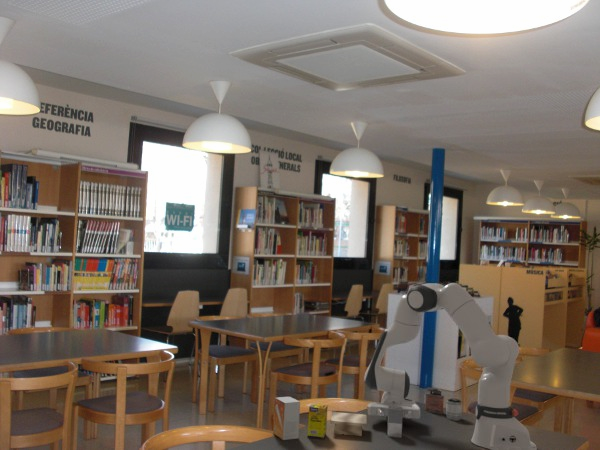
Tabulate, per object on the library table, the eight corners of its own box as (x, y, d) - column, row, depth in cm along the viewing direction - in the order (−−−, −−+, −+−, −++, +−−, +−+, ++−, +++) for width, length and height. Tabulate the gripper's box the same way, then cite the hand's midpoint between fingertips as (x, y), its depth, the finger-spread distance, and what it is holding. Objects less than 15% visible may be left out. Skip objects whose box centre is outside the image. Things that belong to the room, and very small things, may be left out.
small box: (272, 433, 232) (274, 397, 233) (288, 432, 235) (290, 396, 236) (282, 440, 225) (284, 402, 226) (298, 438, 228) (300, 401, 229)
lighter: (444, 412, 277) (445, 389, 278) (441, 414, 275) (442, 390, 275) (426, 409, 282) (427, 386, 282) (423, 410, 279) (424, 387, 279)
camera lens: (450, 415, 273) (451, 397, 273) (464, 419, 269) (464, 400, 269) (443, 418, 268) (444, 399, 268) (457, 421, 264) (457, 402, 264)
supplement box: (323, 439, 229) (325, 408, 229) (307, 437, 230) (308, 406, 230) (326, 435, 234) (328, 404, 235) (310, 433, 236) (311, 403, 236)
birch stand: (365, 427, 247) (366, 414, 247) (365, 437, 234) (366, 423, 234) (331, 425, 248) (332, 411, 248) (329, 434, 235) (330, 420, 235)
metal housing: (400, 433, 241) (401, 406, 242) (401, 437, 237) (402, 410, 237) (387, 432, 242) (388, 405, 242) (387, 436, 237) (389, 409, 237)
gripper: (367, 396, 259) (367, 405, 246) (418, 400, 257) (422, 409, 243) (366, 412, 259) (366, 421, 245) (418, 416, 257) (421, 426, 243)
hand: (394, 415), depth 244 cm, fingers open, 8 cm apart
